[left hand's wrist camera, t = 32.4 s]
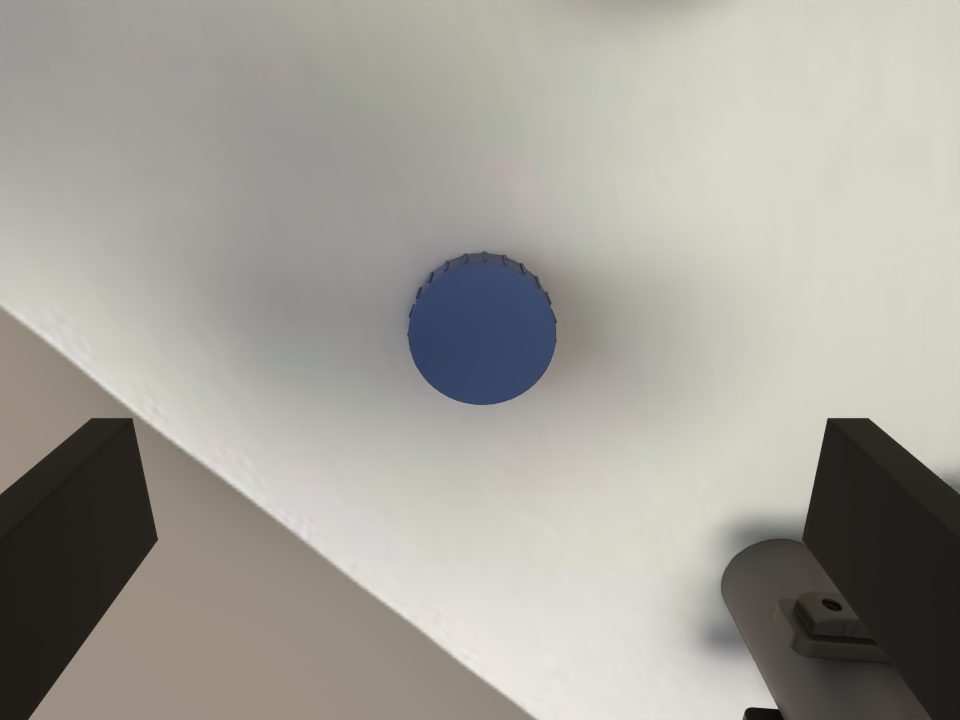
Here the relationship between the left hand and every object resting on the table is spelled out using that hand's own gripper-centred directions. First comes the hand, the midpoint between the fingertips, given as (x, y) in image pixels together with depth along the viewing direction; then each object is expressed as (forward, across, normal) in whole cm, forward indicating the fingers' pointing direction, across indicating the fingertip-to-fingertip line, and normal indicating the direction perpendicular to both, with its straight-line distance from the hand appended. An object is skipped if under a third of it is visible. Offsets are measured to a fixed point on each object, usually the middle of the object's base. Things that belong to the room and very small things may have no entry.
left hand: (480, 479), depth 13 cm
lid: (+12, 0, -1) cm, 12 cm away
